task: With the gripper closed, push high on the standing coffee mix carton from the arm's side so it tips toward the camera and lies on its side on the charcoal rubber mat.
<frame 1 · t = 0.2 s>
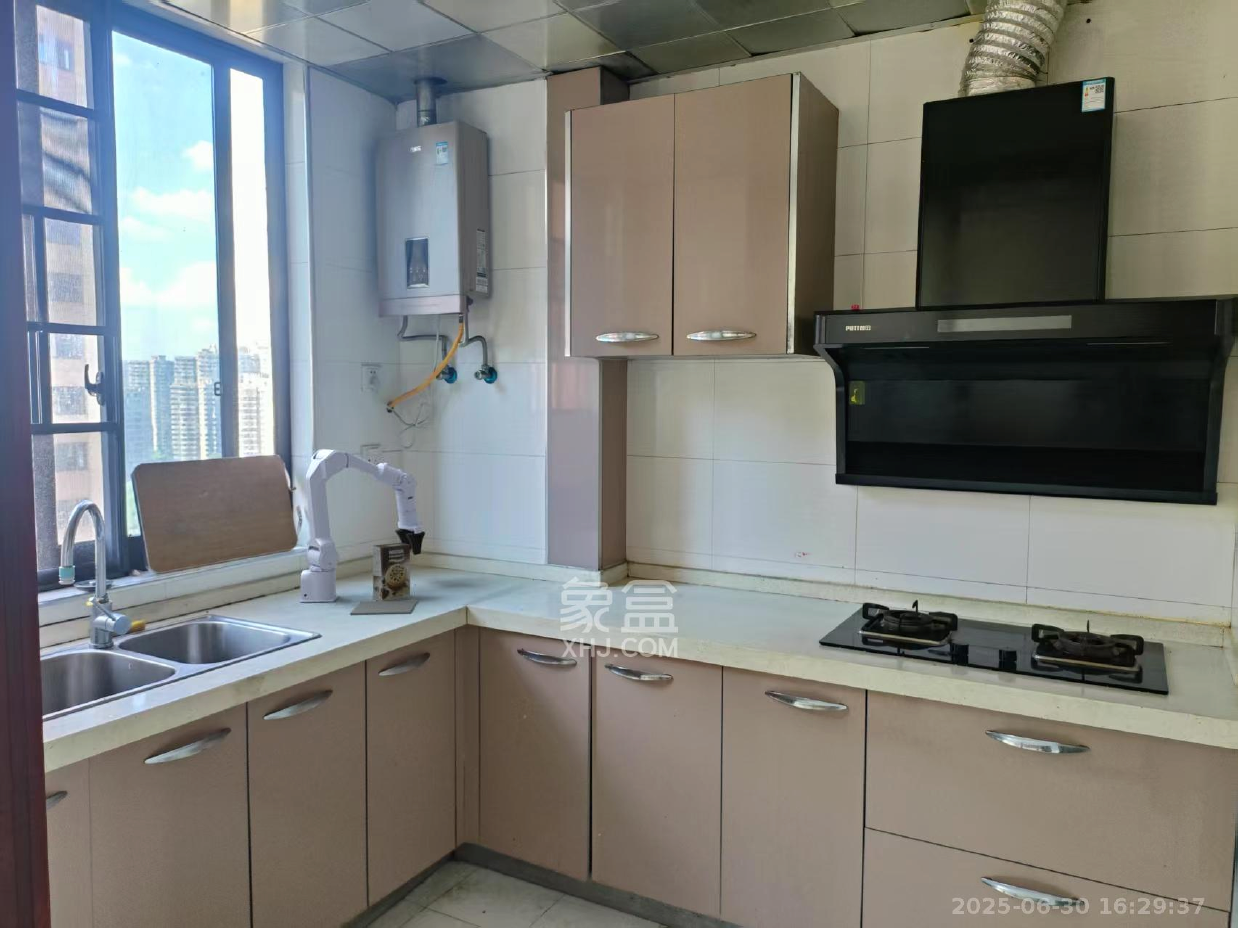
hand: (412, 552, 271), 10 cm above the worktop, tool pointing down, fingers open, 7 cm apart
coffee box: (392, 599, 251), on the worktop
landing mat: (384, 608, 239), on the worktop
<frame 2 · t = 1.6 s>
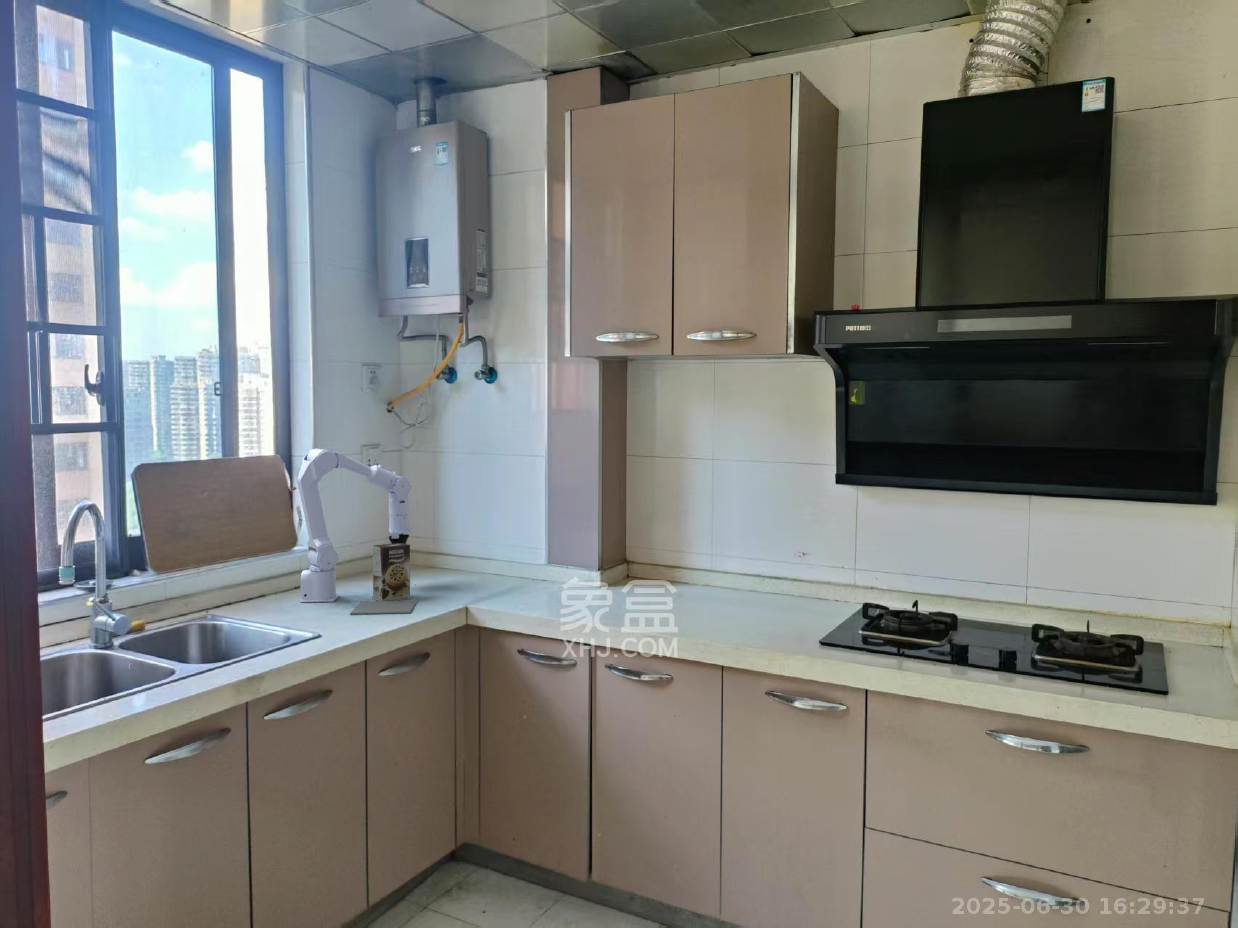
hand: (399, 558, 265), 10 cm above the worktop, tool pointing down, fingers closed
nothing on the worktop moved.
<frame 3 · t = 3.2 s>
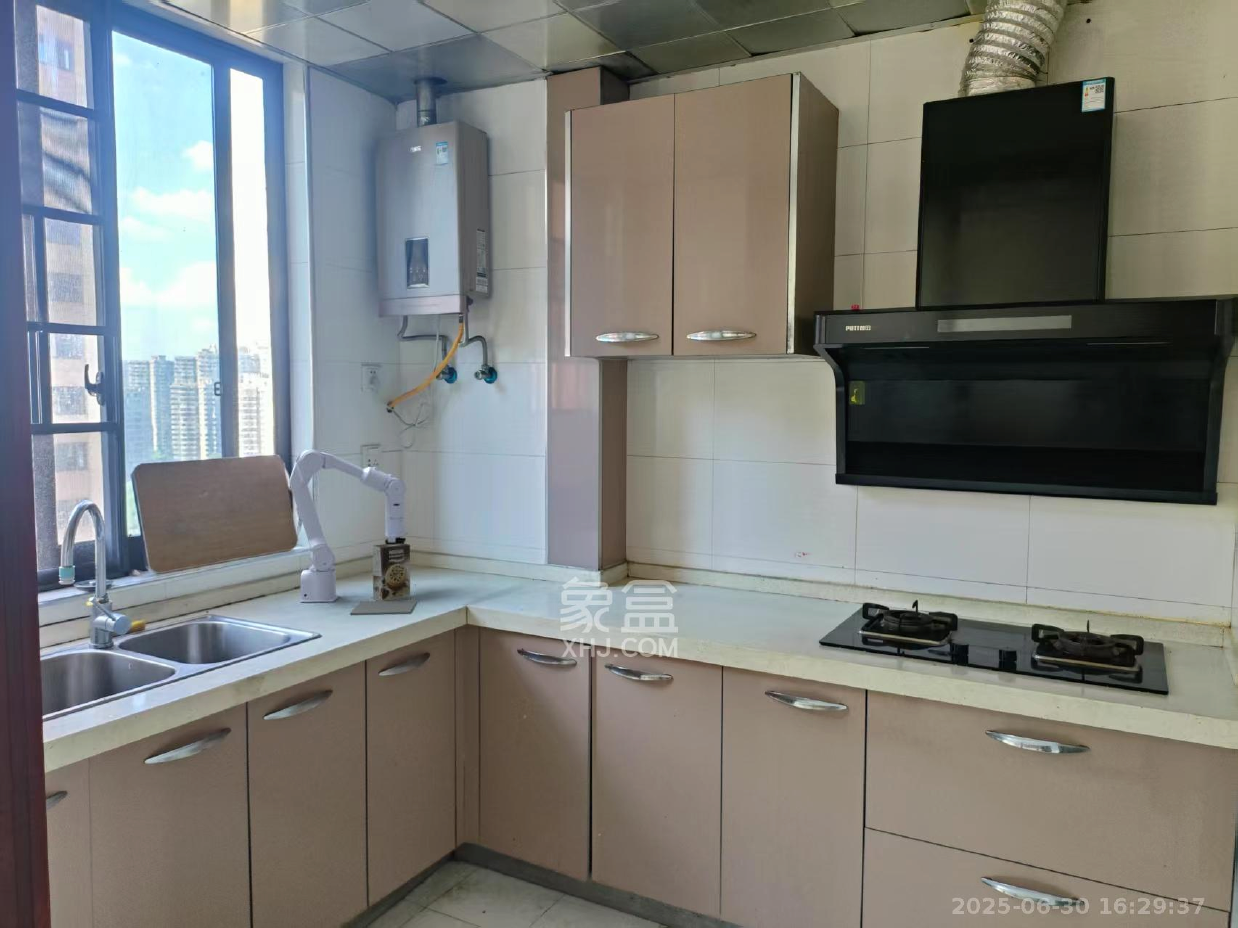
hand: (395, 562, 258), 9 cm above the worktop, tool pointing down, fingers closed
coffee box: (392, 599, 251), on the worktop, touching gripper
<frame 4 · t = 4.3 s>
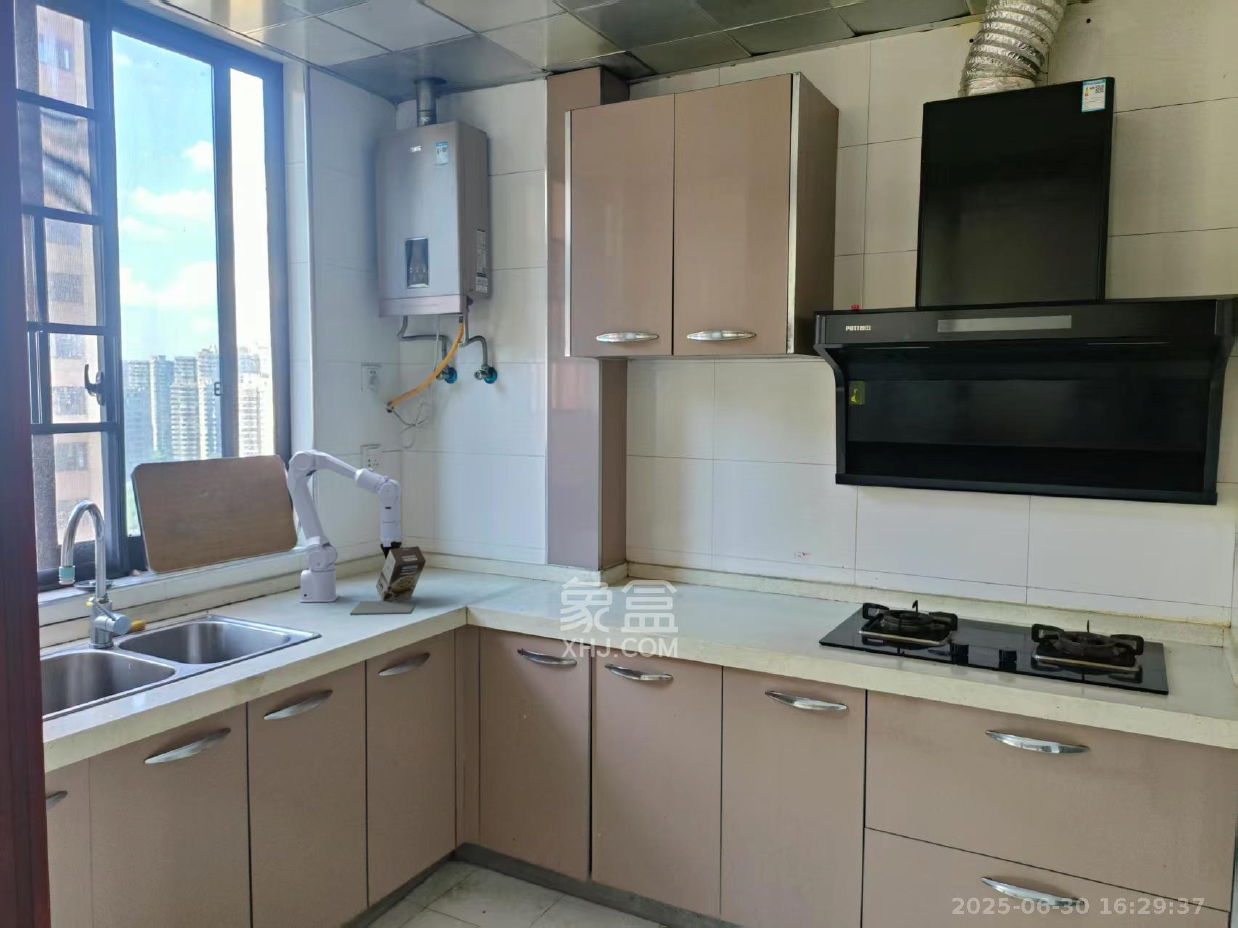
hand: (391, 567, 250), 9 cm above the worktop, tool pointing down, fingers closed
coffee box: (393, 593, 251), point 2 cm above the worktop
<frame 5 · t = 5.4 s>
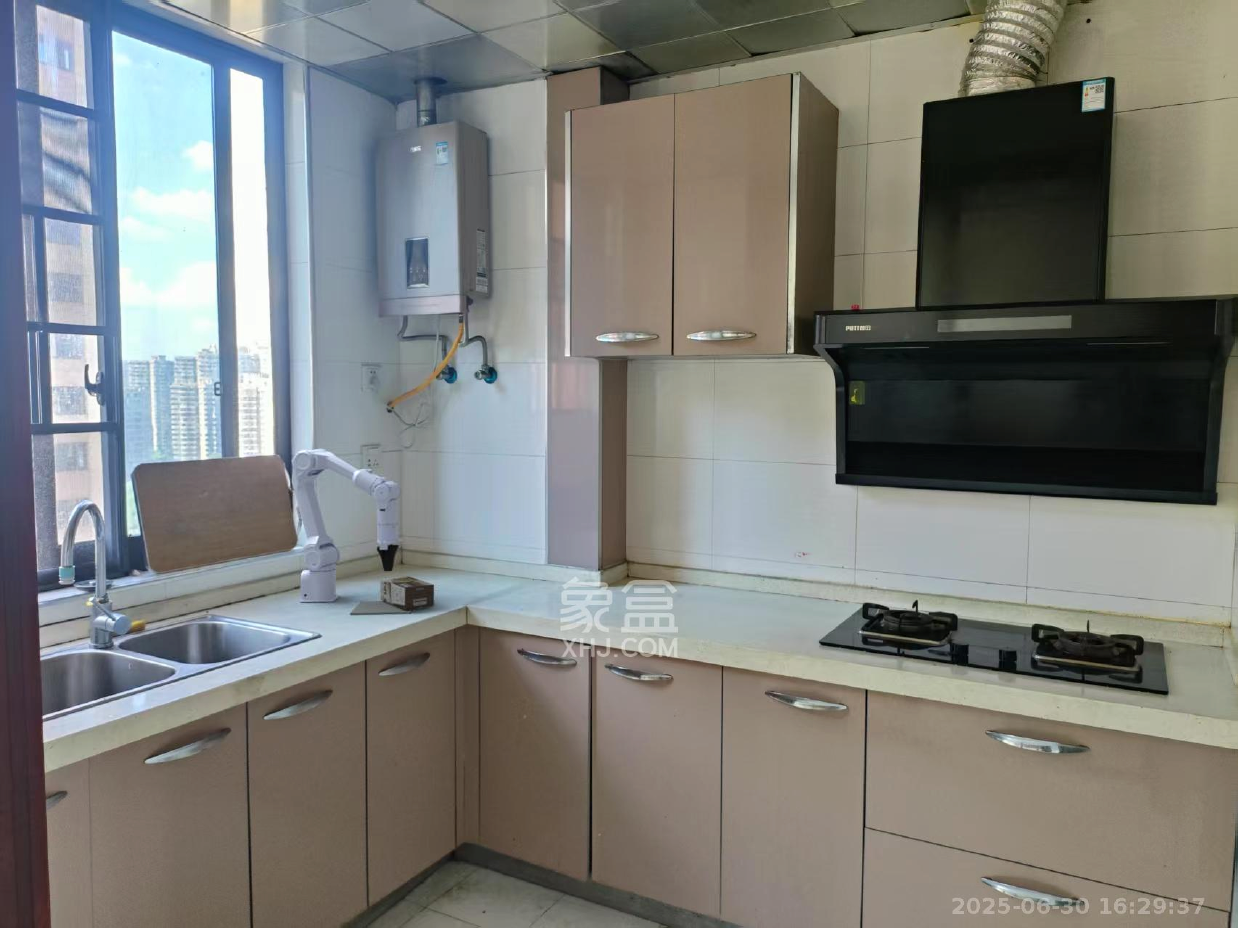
hand: (388, 570, 245), 9 cm above the worktop, tool pointing down, fingers closed
coffee box: (394, 587, 249), point 4 cm above the worktop, touching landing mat
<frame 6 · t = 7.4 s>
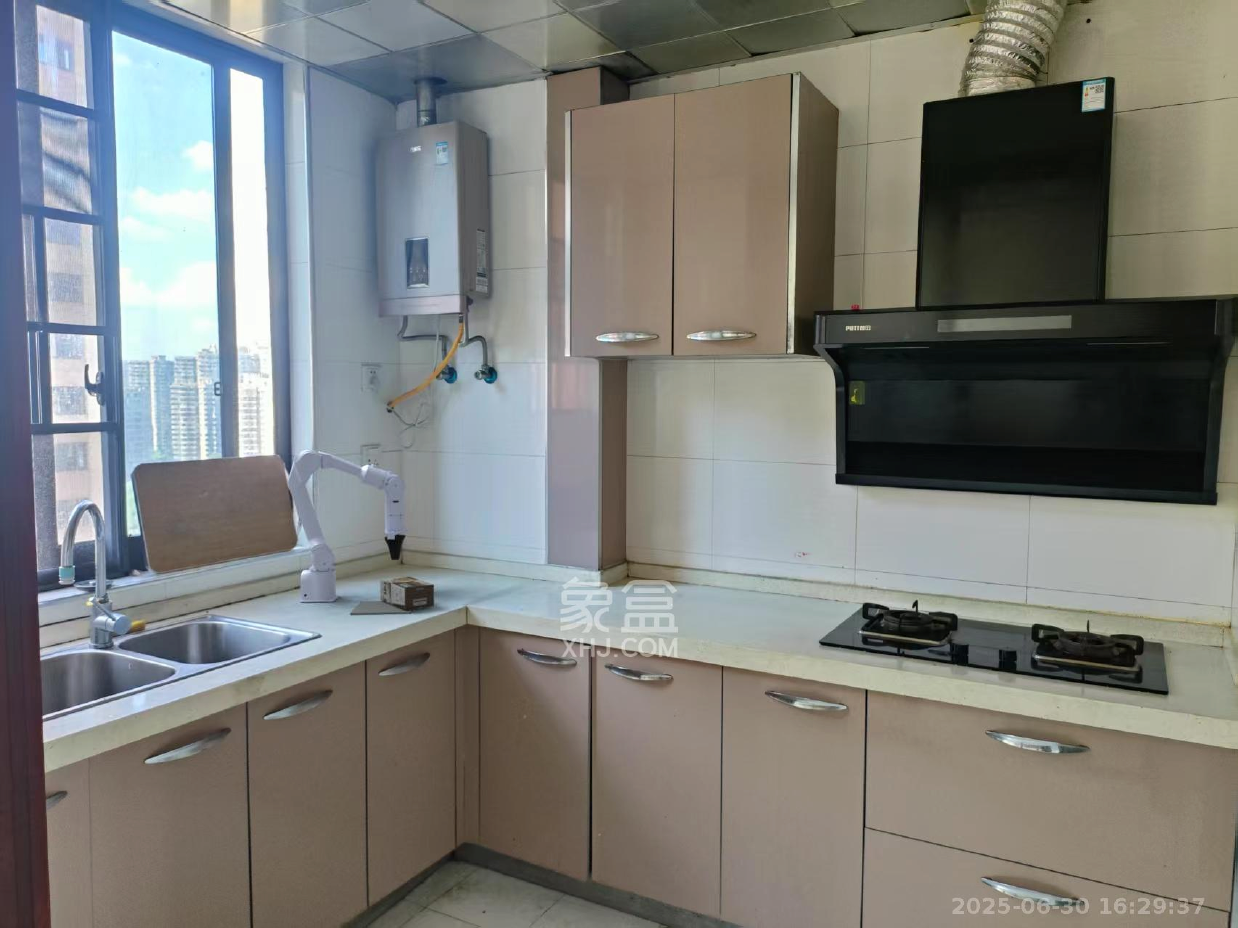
hand: (395, 559, 258), 10 cm above the worktop, tool pointing down, fingers closed
nothing on the worktop moved.
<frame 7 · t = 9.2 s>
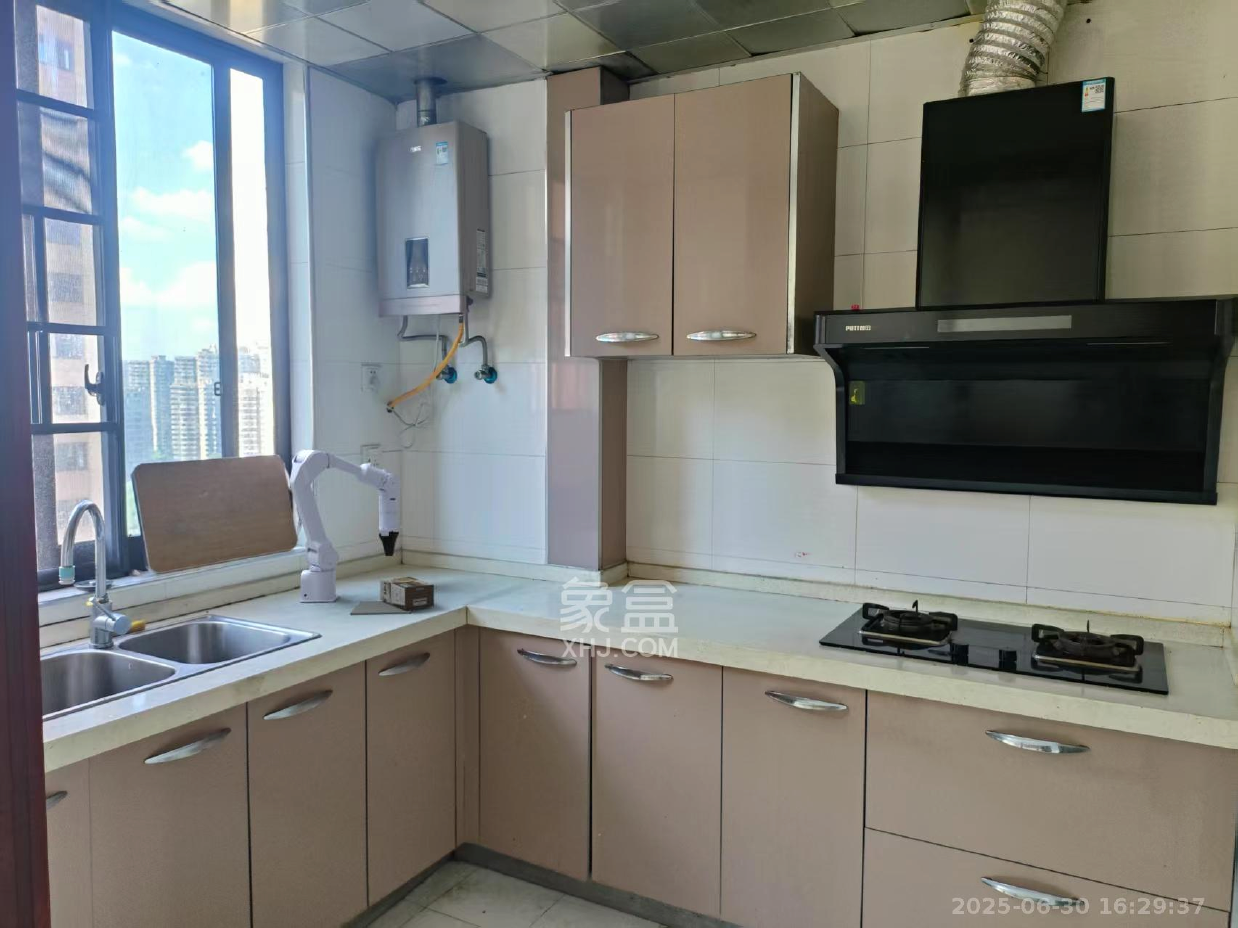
hand: (389, 555, 264), 10 cm above the worktop, tool pointing down, fingers closed
nothing on the worktop moved.
at the end: coffee box tilted 90°; coffee box inside the target area (1.4 cm from its centre), point 3.7 cm above the worktop; coffee box touching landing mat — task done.
